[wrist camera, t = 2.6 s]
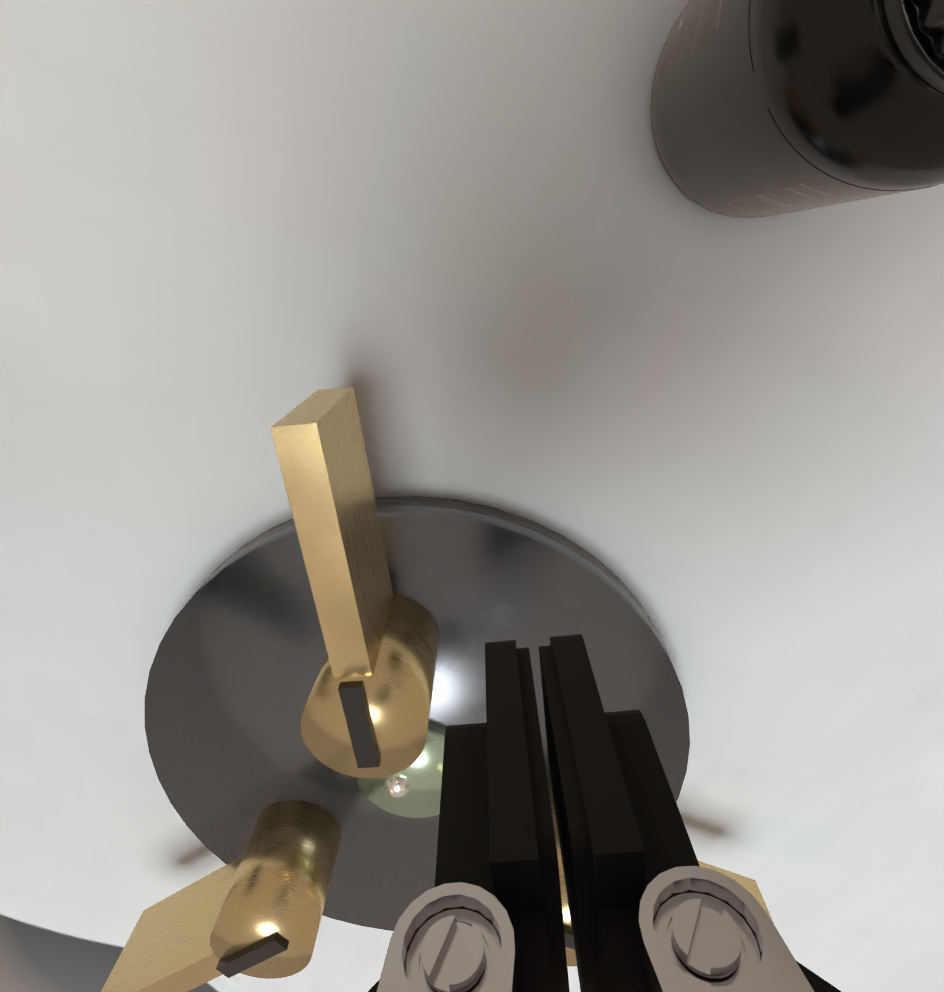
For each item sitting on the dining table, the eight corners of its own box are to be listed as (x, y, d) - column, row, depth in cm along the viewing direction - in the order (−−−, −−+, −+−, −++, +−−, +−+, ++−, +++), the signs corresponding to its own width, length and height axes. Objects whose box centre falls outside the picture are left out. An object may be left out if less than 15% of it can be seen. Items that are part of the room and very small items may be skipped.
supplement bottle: (925, 44, 17) (1710, -334, 6) (768, 259, 20) (1135, 265, 9) (742, -106, 16) (1309, -909, 5) (600, 141, 18) (770, -30, 7)
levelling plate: (681, 468, 22) (711, 500, 20) (671, 883, 32) (690, 948, 29) (91, 525, 24) (36, 562, 21) (243, 904, 33) (219, 967, 30)
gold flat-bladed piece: (445, 673, 24) (433, 782, 19) (348, 680, 24) (313, 789, 19) (397, 379, 19) (366, 422, 14) (279, 392, 19) (209, 439, 14)
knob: (301, 787, 26) (258, 909, 21) (359, 838, 28) (331, 964, 23) (127, 887, 29) (54, 1013, 24) (185, 929, 30) (127, 1058, 26)
